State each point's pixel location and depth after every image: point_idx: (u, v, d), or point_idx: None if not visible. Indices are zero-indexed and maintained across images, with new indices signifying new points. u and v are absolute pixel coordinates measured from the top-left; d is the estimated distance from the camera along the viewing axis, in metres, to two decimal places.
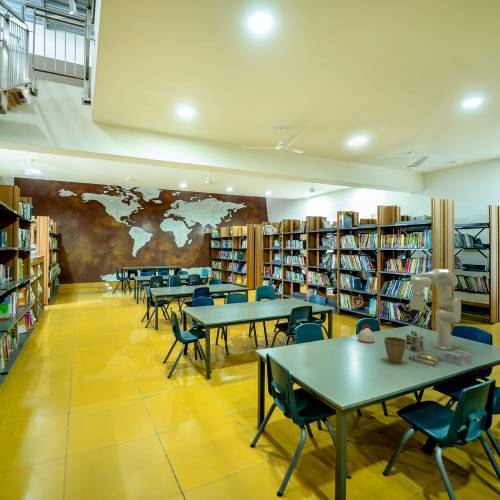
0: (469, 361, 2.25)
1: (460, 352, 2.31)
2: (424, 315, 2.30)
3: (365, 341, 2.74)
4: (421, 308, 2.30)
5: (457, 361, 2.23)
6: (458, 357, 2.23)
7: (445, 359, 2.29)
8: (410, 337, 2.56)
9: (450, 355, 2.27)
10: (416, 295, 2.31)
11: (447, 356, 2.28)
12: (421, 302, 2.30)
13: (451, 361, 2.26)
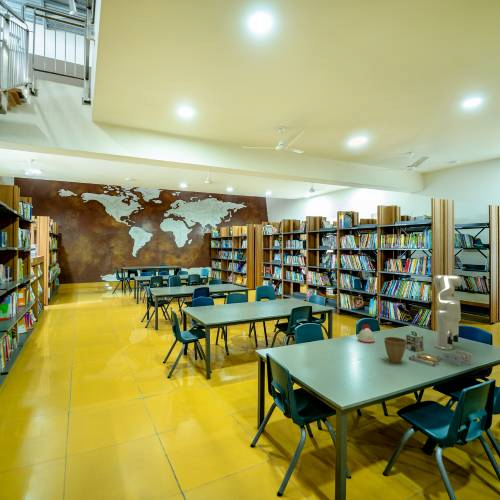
0: (469, 361, 2.25)
1: (460, 352, 2.31)
2: None
3: (365, 341, 2.74)
4: None
5: (457, 361, 2.23)
6: (458, 357, 2.23)
7: (445, 359, 2.29)
8: (410, 337, 2.56)
9: (450, 355, 2.27)
10: (458, 320, 2.24)
11: (447, 356, 2.28)
12: None
13: (451, 361, 2.26)
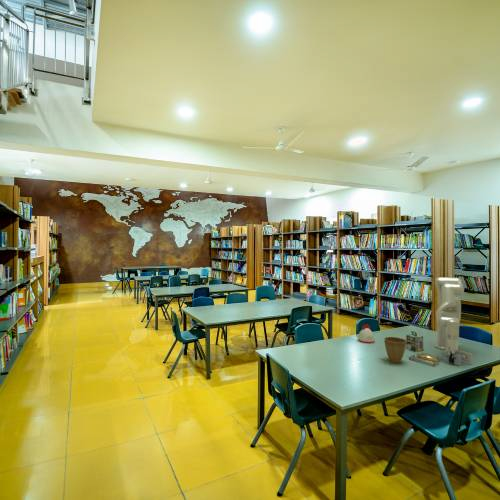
0: (469, 361, 2.25)
1: (460, 352, 2.31)
2: None
3: (365, 341, 2.74)
4: (457, 349, 2.27)
5: (457, 361, 2.23)
6: (458, 357, 2.23)
7: (445, 359, 2.29)
8: (410, 337, 2.56)
9: None
10: (458, 338, 2.24)
11: (447, 355, 2.28)
12: None
13: None
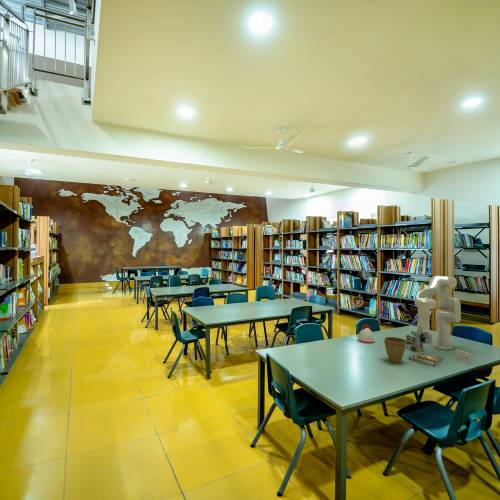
0: (469, 361, 2.25)
1: (460, 352, 2.31)
2: None
3: (365, 341, 2.74)
4: (429, 329, 2.30)
5: (427, 340, 2.26)
6: (429, 336, 2.26)
7: (417, 339, 2.32)
8: (410, 337, 2.56)
9: None
10: (429, 317, 2.27)
11: (419, 335, 2.31)
12: (429, 323, 2.30)
13: None
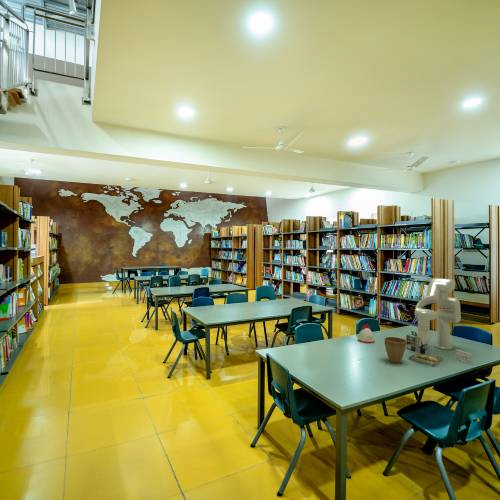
0: (469, 361, 2.25)
1: (460, 352, 2.31)
2: None
3: (365, 341, 2.74)
4: (428, 340, 2.30)
5: (427, 351, 2.26)
6: (429, 348, 2.26)
7: (417, 350, 2.32)
8: (410, 337, 2.56)
9: None
10: (429, 329, 2.27)
11: (419, 346, 2.31)
12: None
13: None
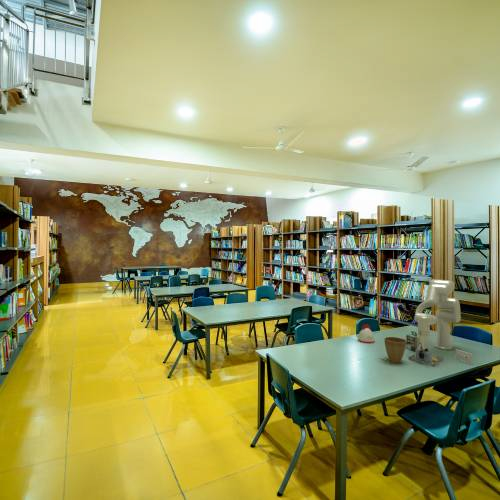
0: (469, 361, 2.25)
1: (460, 352, 2.31)
2: None
3: (365, 341, 2.74)
4: (429, 345, 2.30)
5: (427, 358, 2.27)
6: (428, 355, 2.26)
7: (417, 357, 2.32)
8: (410, 337, 2.56)
9: None
10: (429, 334, 2.27)
11: None
12: None
13: None
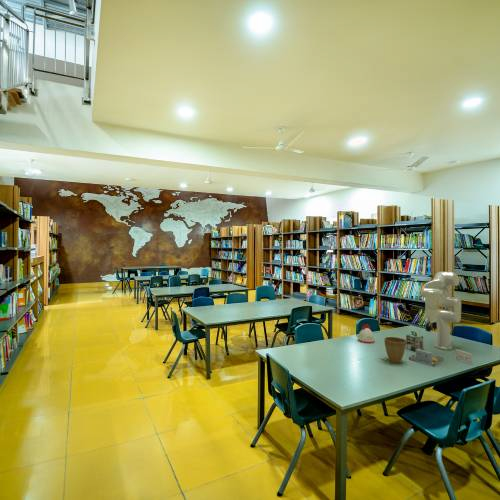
0: (469, 361, 2.25)
1: (460, 352, 2.31)
2: None
3: (365, 341, 2.74)
4: (436, 319, 2.33)
5: (427, 358, 2.27)
6: (428, 355, 2.26)
7: (417, 357, 2.32)
8: (410, 337, 2.56)
9: (421, 353, 2.30)
10: (436, 307, 2.30)
11: (419, 353, 2.31)
12: (436, 313, 2.33)
13: (422, 358, 2.29)
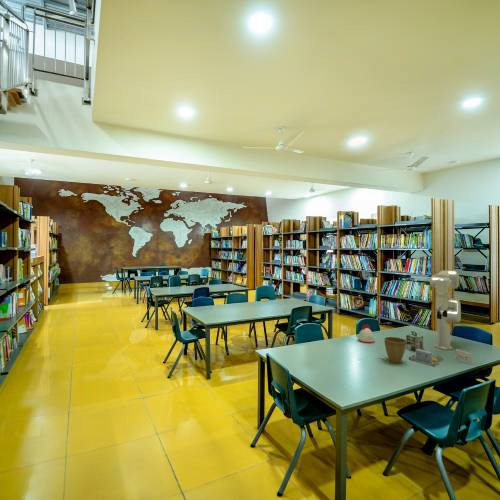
0: (469, 361, 2.25)
1: (460, 352, 2.31)
2: None
3: (365, 341, 2.74)
4: (447, 307, 2.37)
5: (427, 358, 2.27)
6: (428, 355, 2.26)
7: (417, 357, 2.32)
8: (410, 337, 2.56)
9: (421, 353, 2.30)
10: (447, 295, 2.34)
11: (419, 353, 2.31)
12: (447, 301, 2.37)
13: (422, 358, 2.29)
